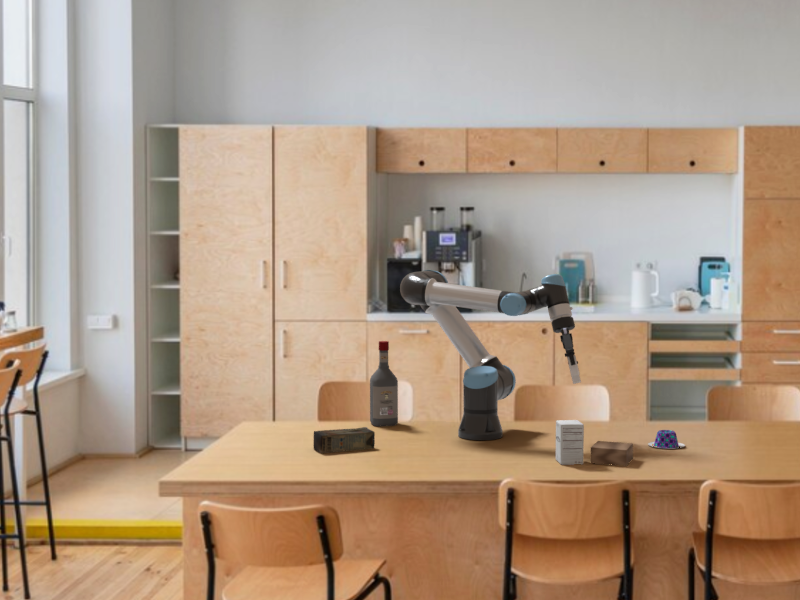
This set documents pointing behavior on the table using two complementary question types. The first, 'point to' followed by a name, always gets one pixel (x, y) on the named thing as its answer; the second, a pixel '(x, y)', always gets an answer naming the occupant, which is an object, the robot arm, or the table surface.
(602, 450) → the riser block
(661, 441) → the pudding
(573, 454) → the supplement box
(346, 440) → the beverage carton
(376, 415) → the liquor
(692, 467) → the table surface
